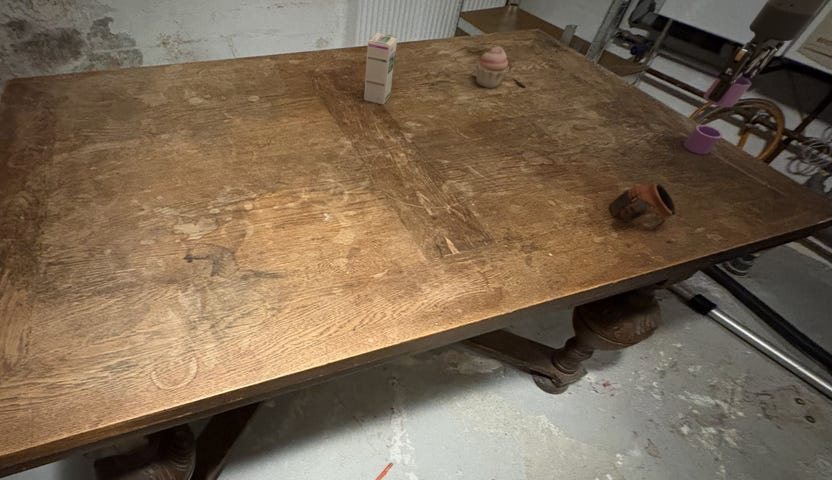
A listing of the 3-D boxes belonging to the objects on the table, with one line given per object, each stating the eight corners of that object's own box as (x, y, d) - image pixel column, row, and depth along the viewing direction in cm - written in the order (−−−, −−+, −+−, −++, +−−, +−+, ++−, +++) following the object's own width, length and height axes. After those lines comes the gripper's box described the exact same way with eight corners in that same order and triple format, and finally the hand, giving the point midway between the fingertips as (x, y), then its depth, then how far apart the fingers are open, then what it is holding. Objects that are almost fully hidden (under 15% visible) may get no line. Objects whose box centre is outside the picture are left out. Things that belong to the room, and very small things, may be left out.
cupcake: (484, 93, 113) (496, 55, 105) (464, 78, 118) (474, 41, 110) (510, 88, 116) (524, 50, 108) (489, 73, 121) (501, 37, 113)
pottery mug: (616, 195, 88) (658, 173, 82) (639, 233, 87) (684, 214, 81) (597, 205, 80) (642, 182, 74) (623, 247, 79) (670, 227, 73)
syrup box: (384, 105, 105) (391, 45, 94) (362, 100, 107) (367, 39, 95) (390, 95, 109) (398, 36, 98) (370, 90, 110) (375, 31, 99)
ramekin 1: (691, 139, 104) (704, 122, 101) (713, 150, 101) (727, 134, 98) (678, 144, 102) (691, 128, 98) (700, 156, 99) (714, 140, 96)
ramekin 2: (712, 91, 89) (728, 70, 85) (739, 104, 86) (757, 82, 82) (697, 97, 87) (713, 75, 83) (724, 109, 84) (742, 88, 80)
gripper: (796, 17, 68) (720, 113, 81) (834, 7, 73) (756, 98, 86) (751, 2, 72) (685, 96, 85) (789, -7, 77) (721, 83, 90)
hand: (721, 96), depth 86 cm, fingers closed on ramekin 2, 6 cm apart
